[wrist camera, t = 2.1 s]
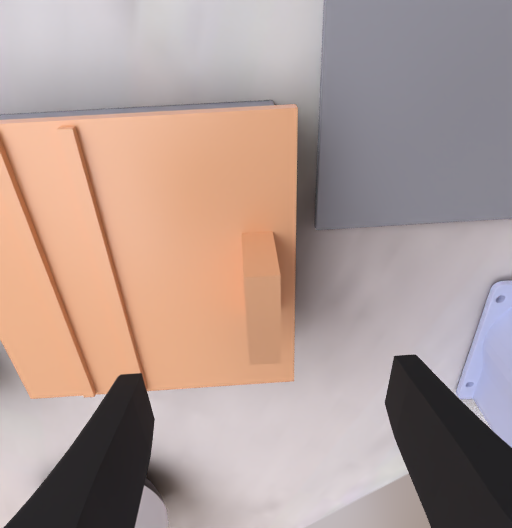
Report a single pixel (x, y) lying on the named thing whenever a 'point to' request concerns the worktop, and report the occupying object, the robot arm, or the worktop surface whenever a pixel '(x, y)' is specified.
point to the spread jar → (151, 509)
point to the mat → (414, 113)
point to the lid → (149, 248)
